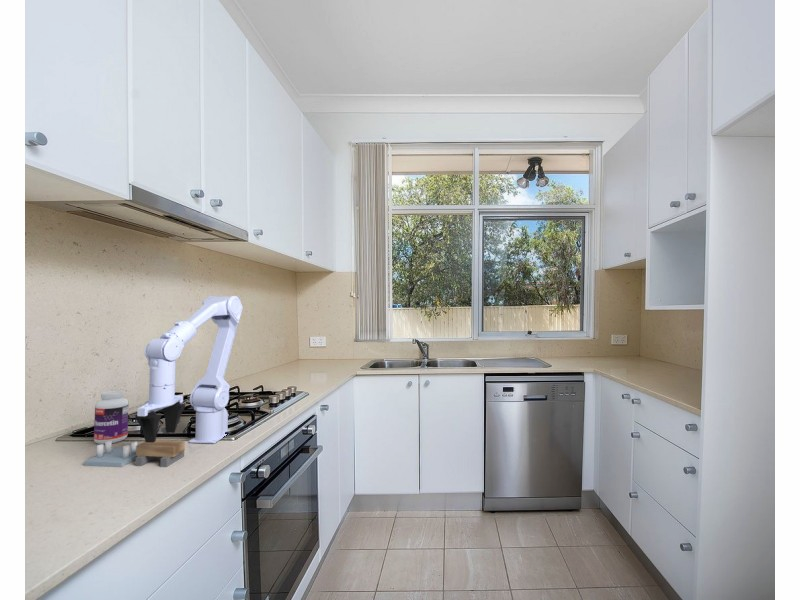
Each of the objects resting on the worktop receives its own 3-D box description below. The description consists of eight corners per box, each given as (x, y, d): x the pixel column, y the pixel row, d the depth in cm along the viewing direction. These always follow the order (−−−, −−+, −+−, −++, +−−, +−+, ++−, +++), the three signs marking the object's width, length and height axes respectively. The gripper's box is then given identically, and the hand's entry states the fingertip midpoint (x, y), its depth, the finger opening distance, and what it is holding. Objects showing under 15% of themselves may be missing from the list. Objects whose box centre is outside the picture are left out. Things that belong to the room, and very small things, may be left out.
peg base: (113, 452, 105) (113, 437, 105) (147, 453, 104) (148, 438, 105) (83, 465, 96) (84, 449, 96) (121, 466, 96) (121, 450, 96)
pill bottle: (87, 446, 110) (88, 395, 110) (103, 437, 117) (104, 389, 118) (119, 444, 111) (120, 394, 111) (132, 435, 119) (133, 388, 119)
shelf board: (148, 449, 102) (149, 439, 102) (184, 450, 101) (184, 440, 101) (136, 455, 98) (136, 445, 98) (173, 457, 97) (173, 447, 97)
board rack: (155, 455, 103) (155, 447, 103) (184, 456, 103) (184, 448, 103) (135, 465, 96) (135, 457, 96) (166, 466, 96) (166, 458, 96)
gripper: (166, 379, 107) (165, 427, 107) (126, 389, 93) (124, 446, 93) (190, 379, 107) (189, 428, 107) (153, 390, 93) (152, 447, 92)
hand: (160, 436), depth 100 cm, fingers open, 7 cm apart
